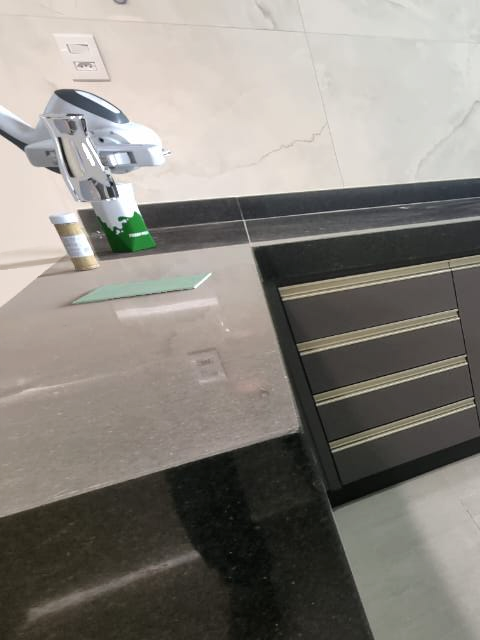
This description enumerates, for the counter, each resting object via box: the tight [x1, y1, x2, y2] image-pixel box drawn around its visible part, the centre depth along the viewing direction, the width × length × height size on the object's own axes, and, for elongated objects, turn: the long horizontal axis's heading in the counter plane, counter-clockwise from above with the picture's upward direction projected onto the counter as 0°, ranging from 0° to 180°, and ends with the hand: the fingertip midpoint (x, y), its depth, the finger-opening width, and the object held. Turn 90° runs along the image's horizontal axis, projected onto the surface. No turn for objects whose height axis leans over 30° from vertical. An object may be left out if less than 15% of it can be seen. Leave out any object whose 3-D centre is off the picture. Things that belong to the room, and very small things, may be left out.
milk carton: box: [89, 182, 157, 253], centre depth 150 cm, size 9×9×20 cm
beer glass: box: [38, 113, 120, 203], centre depth 100 cm, size 7×7×15 cm
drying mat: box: [72, 272, 212, 305], centre depth 113 cm, size 20×13×1 cm, turn 114°
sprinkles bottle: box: [48, 212, 100, 271], centre depth 130 cm, size 5×5×14 cm
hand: (80, 161), depth 100 cm, fingers closed on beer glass, 6 cm apart
